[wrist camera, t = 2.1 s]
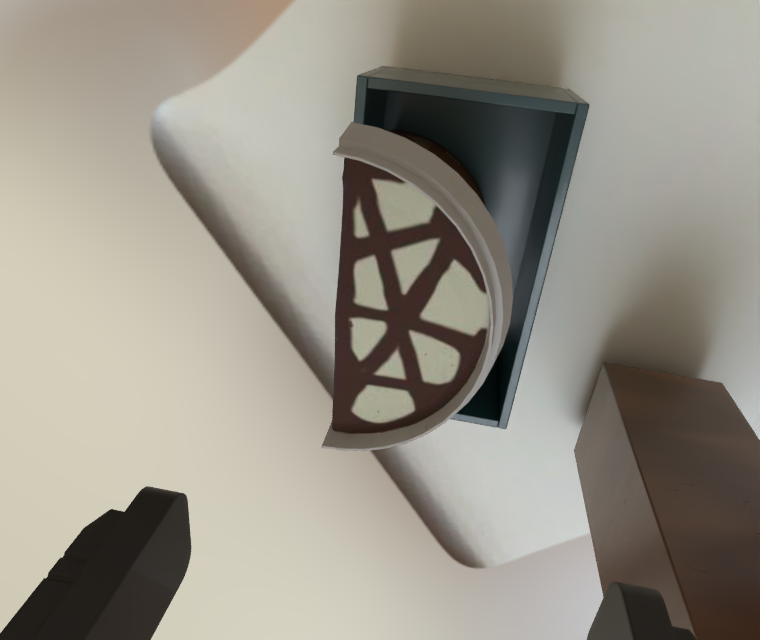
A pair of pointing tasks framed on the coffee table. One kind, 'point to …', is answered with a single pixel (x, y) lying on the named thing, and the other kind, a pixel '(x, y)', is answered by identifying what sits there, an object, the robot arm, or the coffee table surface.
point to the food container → (412, 290)
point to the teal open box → (493, 180)
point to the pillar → (675, 497)
